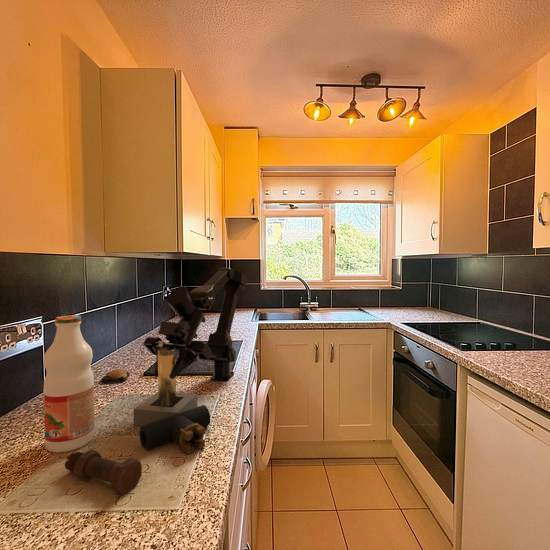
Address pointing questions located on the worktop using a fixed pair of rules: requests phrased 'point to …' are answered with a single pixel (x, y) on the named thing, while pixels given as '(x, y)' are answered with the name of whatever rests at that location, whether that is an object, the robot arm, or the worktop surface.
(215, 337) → the robot arm
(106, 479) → the bolt
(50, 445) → the fruit juice
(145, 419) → the docking block
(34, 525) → the worktop surface
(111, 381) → the bread roll
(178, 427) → the pipe connector
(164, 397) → the brown round cylinder
